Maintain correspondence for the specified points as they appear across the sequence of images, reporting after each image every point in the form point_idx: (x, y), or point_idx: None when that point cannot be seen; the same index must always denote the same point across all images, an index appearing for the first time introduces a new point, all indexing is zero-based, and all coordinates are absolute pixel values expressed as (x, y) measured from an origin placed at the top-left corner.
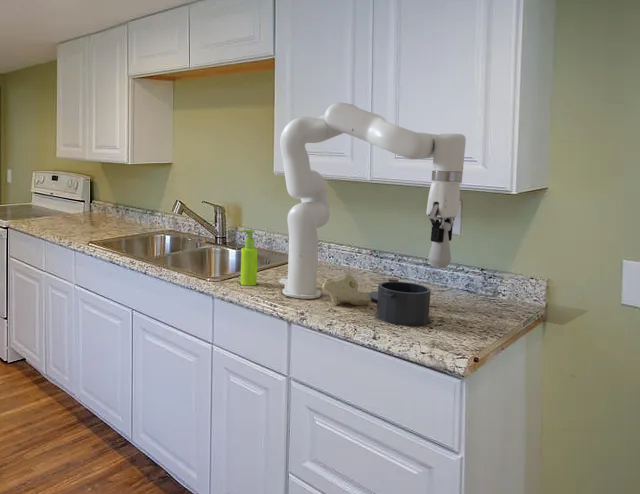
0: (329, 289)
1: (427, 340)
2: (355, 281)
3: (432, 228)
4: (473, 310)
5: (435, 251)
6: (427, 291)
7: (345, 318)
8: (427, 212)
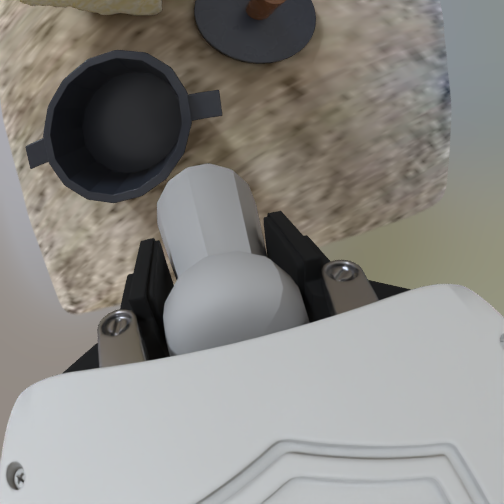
0: (31, 2)
1: (70, 245)
2: None
3: (131, 299)
4: (341, 159)
5: (161, 236)
6: (134, 192)
7: (25, 84)
8: (13, 431)
